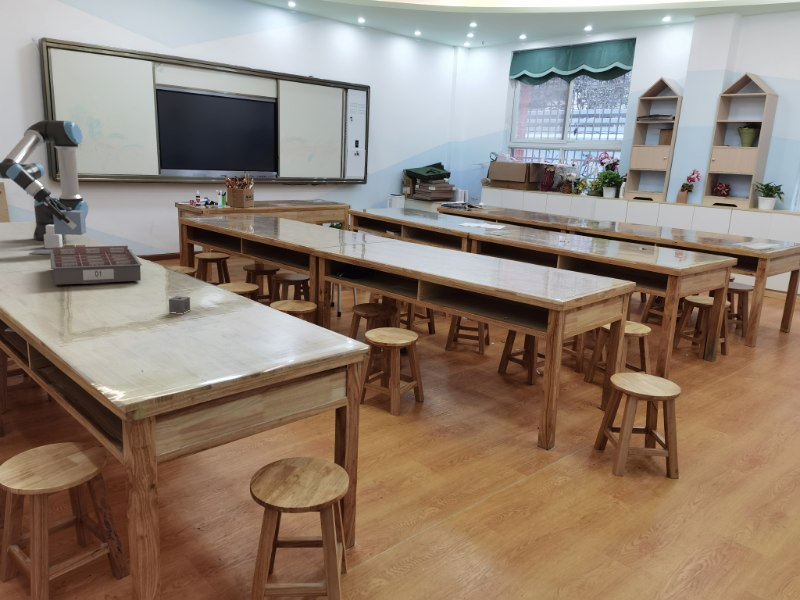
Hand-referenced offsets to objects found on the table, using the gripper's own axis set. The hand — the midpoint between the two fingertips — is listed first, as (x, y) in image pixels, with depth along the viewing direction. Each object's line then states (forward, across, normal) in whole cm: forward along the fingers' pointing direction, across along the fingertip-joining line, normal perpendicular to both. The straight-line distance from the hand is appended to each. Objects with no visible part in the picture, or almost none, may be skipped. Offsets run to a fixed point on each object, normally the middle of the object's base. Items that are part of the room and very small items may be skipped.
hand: (77, 226), depth 299 cm
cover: (0, 0, -5) cm, 5 cm away
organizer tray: (+24, +56, +5) cm, 61 cm away
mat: (-2, 0, -21) cm, 21 cm away
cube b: (+10, 0, -9) cm, 14 cm away
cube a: (+7, 0, -13) cm, 15 cm away
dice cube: (+52, +115, +35) cm, 131 cm away
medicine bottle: (-2, -17, -22) cm, 28 cm away
